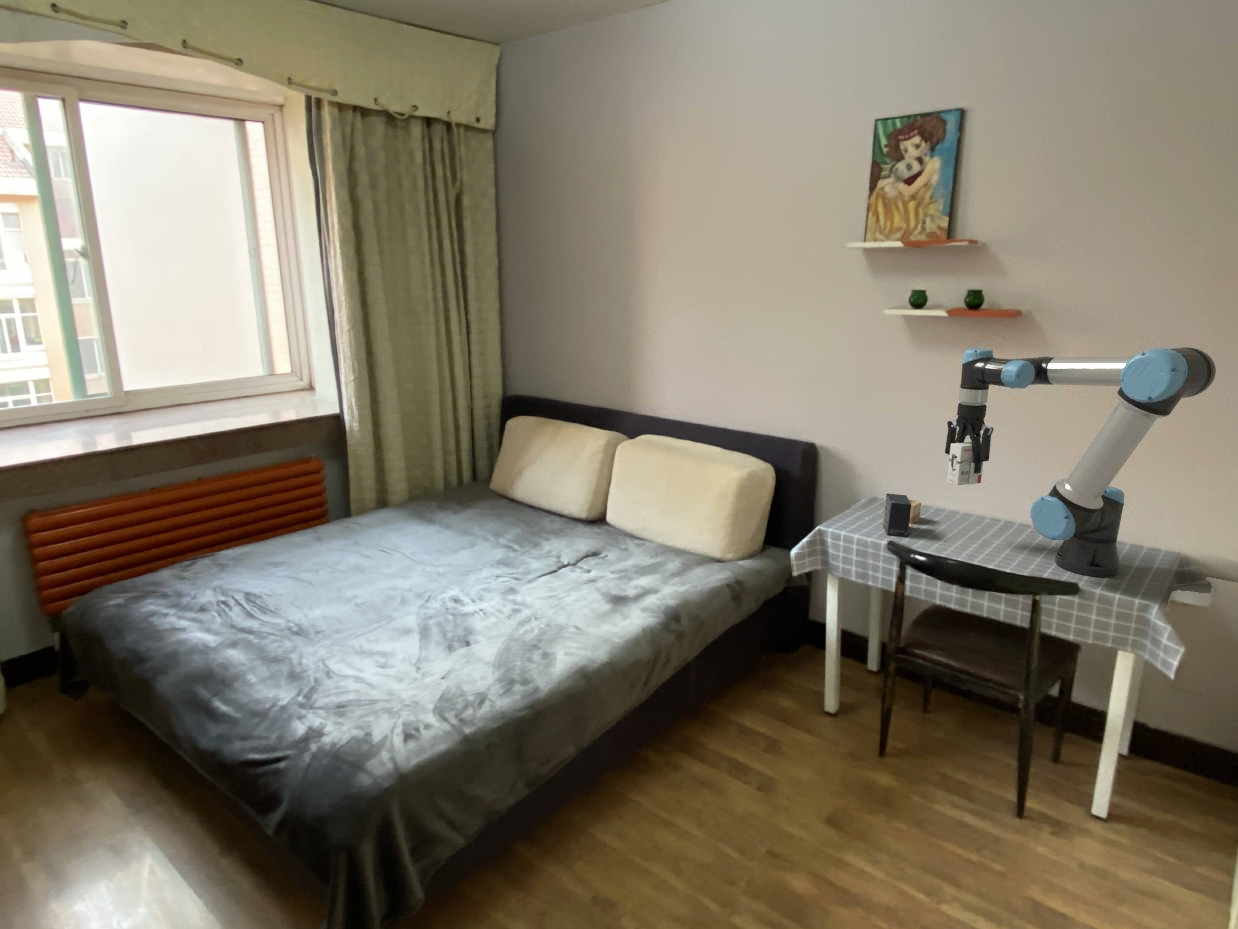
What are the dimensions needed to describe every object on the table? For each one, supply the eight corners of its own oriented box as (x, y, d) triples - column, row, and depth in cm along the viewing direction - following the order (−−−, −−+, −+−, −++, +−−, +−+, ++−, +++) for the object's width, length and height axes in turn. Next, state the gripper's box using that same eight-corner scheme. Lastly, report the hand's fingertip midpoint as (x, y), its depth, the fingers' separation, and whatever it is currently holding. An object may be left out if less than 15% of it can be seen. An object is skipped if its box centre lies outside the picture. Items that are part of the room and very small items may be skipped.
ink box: (969, 479, 228) (973, 440, 225) (981, 483, 224) (986, 444, 221) (945, 481, 226) (949, 442, 223) (957, 485, 221) (962, 445, 218)
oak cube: (919, 520, 247) (921, 502, 246) (911, 524, 243) (913, 506, 241) (901, 515, 251) (903, 498, 250) (893, 519, 247) (894, 501, 246)
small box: (909, 537, 230) (912, 503, 228) (886, 535, 232) (889, 502, 229) (903, 526, 241) (907, 494, 238) (882, 524, 242) (885, 492, 239)
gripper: (1010, 406, 213) (1000, 486, 219) (953, 397, 229) (945, 473, 234) (993, 408, 210) (983, 490, 215) (936, 399, 225) (928, 475, 231)
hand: (963, 481), depth 225 cm, fingers closed on ink box, 5 cm apart
